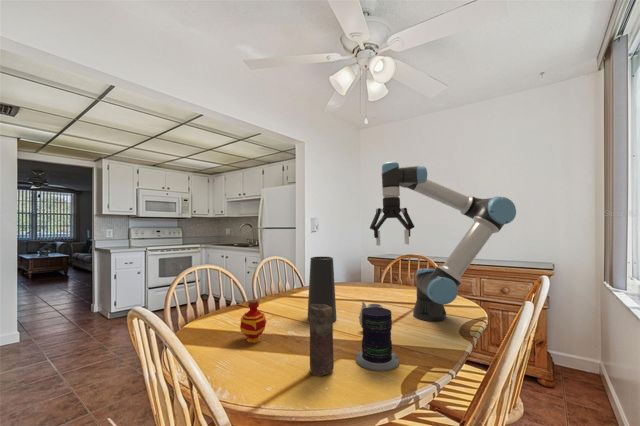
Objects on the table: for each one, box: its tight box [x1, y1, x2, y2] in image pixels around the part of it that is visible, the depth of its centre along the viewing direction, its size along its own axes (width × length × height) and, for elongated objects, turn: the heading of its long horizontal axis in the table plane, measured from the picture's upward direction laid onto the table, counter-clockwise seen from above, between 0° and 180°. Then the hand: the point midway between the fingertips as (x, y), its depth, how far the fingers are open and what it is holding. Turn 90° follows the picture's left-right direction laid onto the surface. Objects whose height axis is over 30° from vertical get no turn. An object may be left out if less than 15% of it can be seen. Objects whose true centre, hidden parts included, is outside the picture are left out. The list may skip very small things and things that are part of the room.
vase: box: [306, 256, 337, 323], centre depth 144 cm, size 14×14×29 cm
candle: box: [309, 304, 335, 377], centre depth 95 cm, size 8×7×20 cm
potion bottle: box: [239, 299, 267, 343], centre depth 119 cm, size 10×10×15 cm
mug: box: [358, 301, 384, 328], centre depth 131 cm, size 8×12×12 cm, turn 115°
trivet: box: [355, 349, 400, 372], centre depth 101 cm, size 14×14×1 cm
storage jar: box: [361, 307, 393, 364], centre depth 101 cm, size 10×10×15 cm
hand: (392, 244), depth 137 cm, fingers open, 13 cm apart
